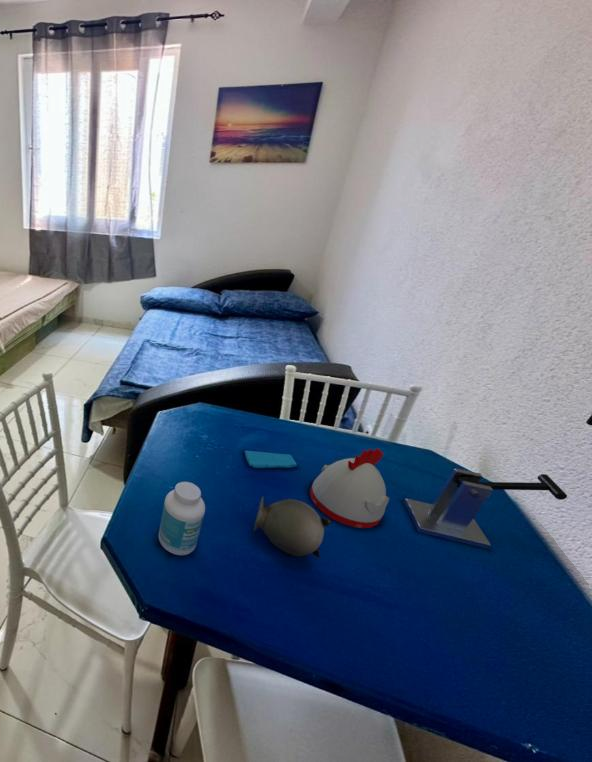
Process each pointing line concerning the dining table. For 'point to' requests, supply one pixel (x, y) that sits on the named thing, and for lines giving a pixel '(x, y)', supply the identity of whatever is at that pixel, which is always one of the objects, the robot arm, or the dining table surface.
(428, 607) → the dining table surface
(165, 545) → the pill bottle
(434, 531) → the bracket
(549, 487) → the lever
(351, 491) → the kitchen timer
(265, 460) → the sponge
